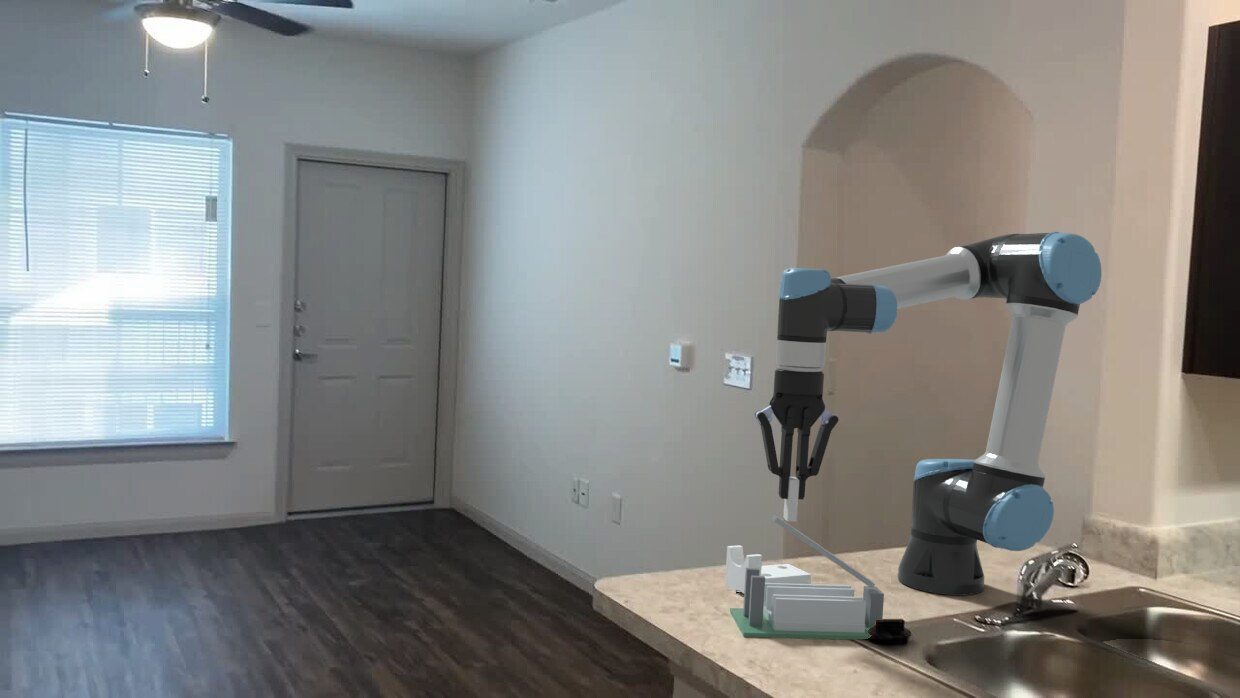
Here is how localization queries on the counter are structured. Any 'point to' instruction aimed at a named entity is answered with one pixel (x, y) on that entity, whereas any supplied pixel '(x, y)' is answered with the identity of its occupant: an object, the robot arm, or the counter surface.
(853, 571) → the strap
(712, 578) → the counter surface
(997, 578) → the counter surface
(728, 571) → the bracket
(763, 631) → the heatsink board
